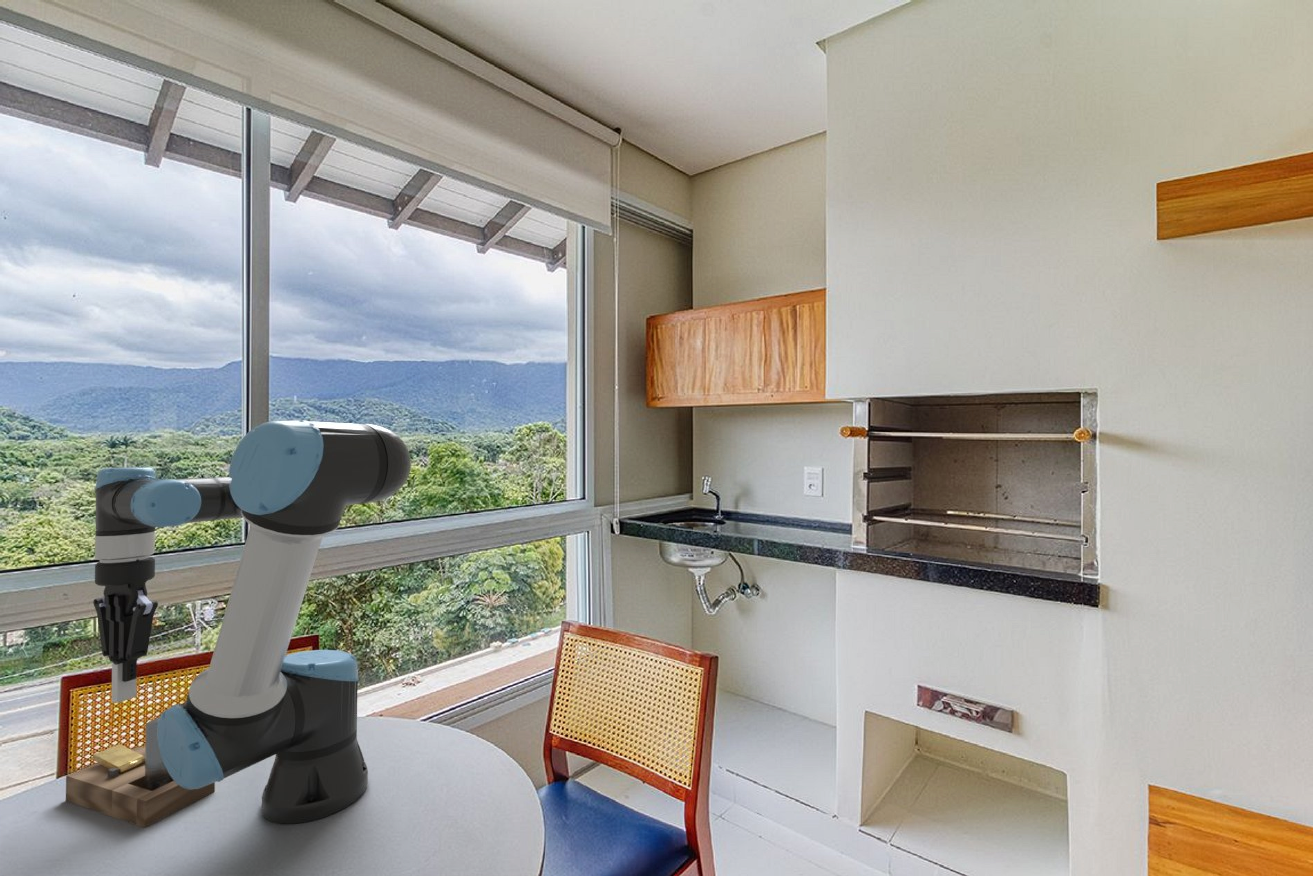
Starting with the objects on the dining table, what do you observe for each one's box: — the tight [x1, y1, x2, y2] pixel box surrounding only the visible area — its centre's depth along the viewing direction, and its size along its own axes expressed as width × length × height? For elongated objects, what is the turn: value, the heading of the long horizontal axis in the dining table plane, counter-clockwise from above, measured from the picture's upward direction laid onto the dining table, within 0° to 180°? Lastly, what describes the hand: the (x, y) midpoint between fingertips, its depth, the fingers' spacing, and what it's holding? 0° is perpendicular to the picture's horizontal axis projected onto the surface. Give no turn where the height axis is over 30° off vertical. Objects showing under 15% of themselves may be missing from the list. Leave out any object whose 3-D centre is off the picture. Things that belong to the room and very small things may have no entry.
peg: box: [144, 717, 174, 791], centre depth 94 cm, size 4×4×13 cm
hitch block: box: [65, 745, 216, 828], centre depth 96 cm, size 20×10×5 cm, turn 70°
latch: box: [92, 743, 145, 774], centre depth 98 cm, size 7×4×1 cm, turn 70°
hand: (124, 699), depth 98 cm, fingers closed
